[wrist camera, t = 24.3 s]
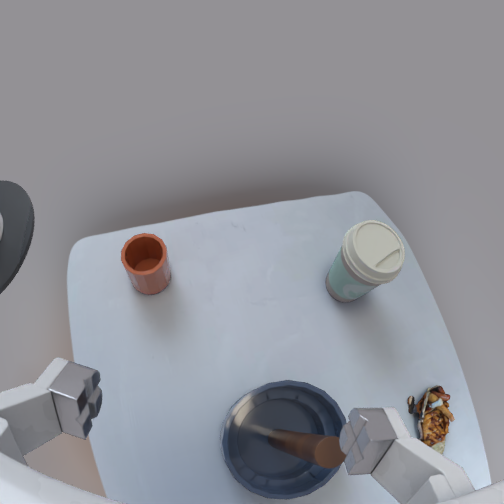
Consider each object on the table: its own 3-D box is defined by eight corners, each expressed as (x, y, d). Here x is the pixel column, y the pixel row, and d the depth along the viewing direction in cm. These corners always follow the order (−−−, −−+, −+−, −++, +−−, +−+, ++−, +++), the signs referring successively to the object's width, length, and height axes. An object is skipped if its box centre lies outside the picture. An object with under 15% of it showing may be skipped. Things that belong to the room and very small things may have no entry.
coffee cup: (319, 311, 45) (354, 276, 34) (314, 258, 49) (343, 212, 39) (371, 311, 46) (415, 278, 36) (363, 260, 50) (399, 219, 40)
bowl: (229, 496, 31) (233, 509, 26) (212, 393, 37) (214, 390, 32) (336, 473, 34) (356, 480, 29) (319, 377, 40) (336, 370, 35)
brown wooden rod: (269, 449, 34) (317, 472, 19) (266, 430, 35) (312, 441, 20) (289, 445, 35) (350, 463, 19) (286, 427, 36) (344, 432, 20)
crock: (130, 296, 42) (120, 276, 36) (131, 258, 45) (122, 234, 39) (171, 293, 43) (167, 273, 37) (170, 255, 46) (166, 231, 40)
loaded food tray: (421, 466, 34) (435, 468, 31) (405, 398, 40) (418, 395, 37) (453, 447, 36) (467, 446, 33) (437, 382, 41) (451, 378, 38)
